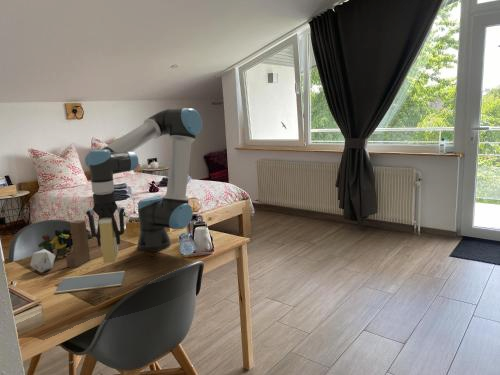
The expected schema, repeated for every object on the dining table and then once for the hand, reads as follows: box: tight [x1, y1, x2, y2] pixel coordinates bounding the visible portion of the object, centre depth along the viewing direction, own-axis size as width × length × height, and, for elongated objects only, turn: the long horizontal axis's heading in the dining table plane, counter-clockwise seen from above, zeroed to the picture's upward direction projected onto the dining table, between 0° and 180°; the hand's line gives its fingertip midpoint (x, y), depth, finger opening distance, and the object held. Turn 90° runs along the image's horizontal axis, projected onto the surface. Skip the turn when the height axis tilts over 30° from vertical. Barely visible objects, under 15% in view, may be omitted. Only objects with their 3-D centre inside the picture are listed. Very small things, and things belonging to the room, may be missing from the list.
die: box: [29, 248, 57, 274], centre depth 162 cm, size 8×9×10 cm
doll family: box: [37, 228, 91, 259], centre depth 180 cm, size 23×9×13 cm, turn 157°
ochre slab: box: [98, 217, 119, 264], centre depth 147 cm, size 4×8×16 cm, turn 11°
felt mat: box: [53, 270, 126, 295], centre depth 149 cm, size 23×13×1 cm, turn 101°
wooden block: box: [65, 219, 91, 268], centre depth 167 cm, size 9×4×18 cm, turn 160°
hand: (110, 253), depth 148 cm, fingers closed on ochre slab, 4 cm apart
